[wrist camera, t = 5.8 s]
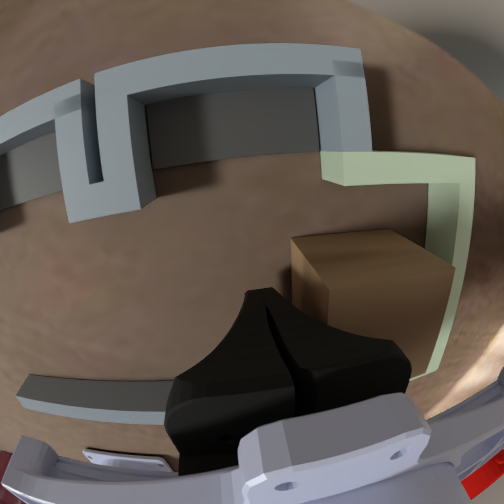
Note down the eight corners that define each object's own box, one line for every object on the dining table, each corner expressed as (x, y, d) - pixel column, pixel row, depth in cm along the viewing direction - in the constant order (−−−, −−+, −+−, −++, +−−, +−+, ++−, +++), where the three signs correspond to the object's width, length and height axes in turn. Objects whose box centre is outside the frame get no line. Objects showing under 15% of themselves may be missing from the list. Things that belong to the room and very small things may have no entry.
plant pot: (-2, 435, 17) (-31, 505, 5) (80, 493, 22) (67, 560, 10) (-22, 440, 19) (-45, 492, 7) (42, 490, 24) (29, 541, 12)
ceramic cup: (512, 405, 27) (538, 437, 17) (470, 457, 32) (488, 486, 23) (469, 434, 26) (497, 476, 16) (426, 482, 31) (443, 517, 22)
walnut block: (378, 316, 14) (425, 373, 10) (292, 331, 14) (318, 404, 9) (388, 228, 13) (455, 267, 8) (290, 237, 12) (329, 290, 8)
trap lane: (419, 348, 16) (437, 369, 14) (36, 386, 14) (24, 408, 12) (437, 81, 10) (467, 76, 8) (-41, 159, 9) (-67, 164, 7)
